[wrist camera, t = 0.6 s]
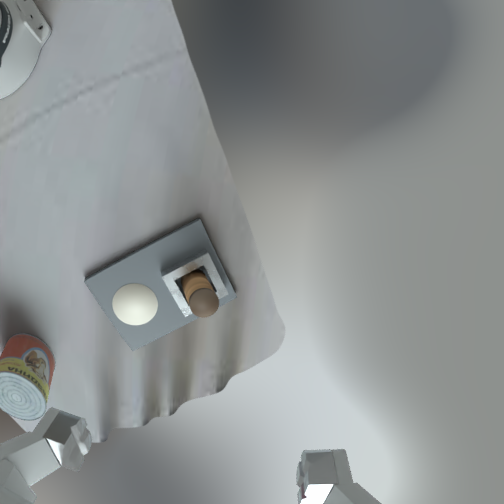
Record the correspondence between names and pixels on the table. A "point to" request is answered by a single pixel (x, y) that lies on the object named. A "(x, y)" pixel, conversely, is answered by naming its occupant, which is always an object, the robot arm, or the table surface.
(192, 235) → the base plate
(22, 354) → the canned food
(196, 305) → the plug
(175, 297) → the collar
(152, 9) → the table surface
